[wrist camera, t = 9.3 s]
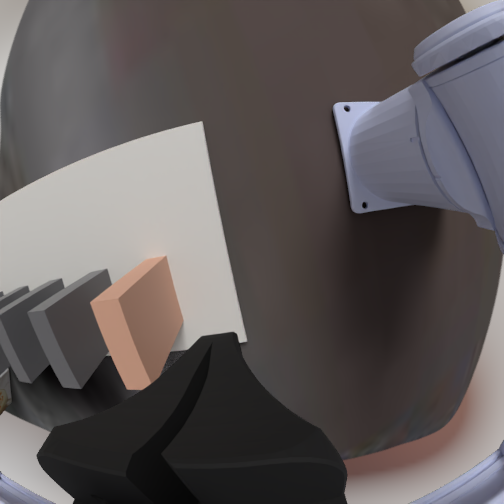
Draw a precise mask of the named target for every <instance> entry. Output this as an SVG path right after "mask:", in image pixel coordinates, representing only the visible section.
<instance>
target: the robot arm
mask: <svg viewBox="0 0 504 504" xmlns="http://www.w3.org/2000/svg"><path fill="white" fill-rule="evenodd" d="M414 60H415V61H414V62H413V63H412V67H413V69H414V70H415V71H416V73H417V74H418V75H419V76H423V75H425V74H427V73H429V72H431V71H433V70H434V69H436V68H438V69H436V70H435V71H433V72H432V73H430V74H429V75H427V76H425V77H424V78H422V79H421V80H419V81H418V82H416V83H414V84H413V85H411V86H409V87H407V88H405V89H404V90H402V91H400V92H398V93H396V94H395V95H393V96H391V97H389V98H388V99H386V100H384V101H383V102H341V103H336V104H335V105H334V106H333V114H334V118H335V122H336V127H337V131H338V136H339V141H340V146H341V151H342V156H343V161H344V167H345V172H346V178H347V184H348V191H349V198H350V205H351V209H352V211H353V212H355V213H365V212H371V211H377V210H383V209H390V208H396V207H402V206H409V205H421V206H428V207H435V208H442V209H448V210H454V211H460V212H466V213H469V214H470V215H472V217H473V218H474V219H475V221H476V223H477V225H478V227H481V228H486V229H490V230H494V231H495V233H496V237H497V241H498V245H499V247H500V249H501V251H502V253H503V254H504V0H498V1H494V2H491V3H488V4H486V5H483V6H481V7H479V8H476V9H474V10H472V11H470V12H468V13H466V14H464V15H463V16H461V17H459V18H457V19H455V20H454V21H452V22H450V23H449V24H447V25H445V26H444V27H442V28H441V29H439V30H437V31H436V32H434V33H433V34H432V35H430V36H429V37H427V38H426V39H425V40H423V41H422V42H421V43H420V44H418V45H417V46H416V47H415V49H414ZM344 107H347V108H348V109H349V112H346V111H345V110H344ZM363 202H365V203H366V207H365V208H363V207H362V203H363ZM37 459H38V461H39V464H40V465H41V467H42V468H43V470H44V471H45V472H46V473H47V474H48V475H49V476H50V477H51V478H52V479H53V480H54V481H55V482H56V483H57V484H58V485H59V486H60V487H62V488H63V489H64V490H65V491H66V492H67V493H68V494H70V495H71V496H72V497H73V498H74V499H75V500H74V502H73V504H347V501H346V498H345V494H344V492H345V487H346V481H347V470H346V467H345V464H344V462H343V460H342V459H341V457H340V455H339V453H338V452H337V450H336V449H335V447H334V446H333V445H332V443H331V442H330V440H329V439H328V438H327V437H326V435H325V434H324V433H323V432H322V430H321V429H320V428H318V427H316V426H314V425H312V424H311V423H309V422H307V421H305V420H304V419H302V418H300V417H299V416H297V415H296V414H294V413H293V412H292V411H290V410H289V409H287V408H286V407H285V406H284V405H282V404H281V403H280V402H279V401H278V400H277V399H275V398H274V397H273V396H272V395H271V394H270V393H269V392H268V391H267V390H266V389H265V388H264V387H263V386H262V385H261V383H260V382H259V381H258V380H257V379H256V377H255V376H254V375H253V373H252V372H251V370H250V369H249V367H248V366H247V364H246V362H245V360H244V358H243V356H242V352H241V348H240V344H239V340H238V335H237V333H235V332H227V333H220V334H213V335H205V336H201V337H200V338H199V339H198V340H197V341H196V342H195V343H194V344H193V345H192V346H191V347H190V348H189V349H188V350H187V351H186V352H185V353H184V354H183V355H182V356H181V357H180V358H179V359H178V360H177V361H176V362H175V363H174V364H173V365H172V366H171V367H170V368H169V369H168V370H167V371H165V372H164V373H163V374H162V375H161V376H160V377H159V378H158V379H156V380H155V381H154V382H152V383H151V384H150V385H149V386H147V387H146V388H144V389H143V390H141V391H140V392H138V393H137V394H135V395H134V396H132V397H130V398H128V399H127V400H125V401H123V402H121V403H120V404H118V405H116V406H114V407H112V408H110V409H108V410H105V411H103V412H101V413H99V414H96V415H93V416H91V417H88V418H85V419H82V420H79V421H75V422H72V423H68V424H64V425H61V426H56V427H54V428H53V430H52V431H51V433H50V434H49V436H48V437H47V439H46V441H45V442H44V444H43V446H42V447H41V449H40V450H39V452H38V454H37ZM0 504H55V503H53V502H51V501H49V500H47V499H45V498H43V497H41V496H39V495H37V494H35V493H33V492H31V491H30V490H28V489H26V488H24V487H23V486H21V485H19V484H18V483H16V482H14V481H13V480H11V479H9V478H8V477H6V476H5V475H3V474H2V473H1V471H0ZM409 504H504V440H503V442H502V444H501V445H500V448H499V449H498V450H497V451H495V452H494V453H493V454H491V455H490V456H489V457H487V458H486V459H485V460H483V461H482V462H480V463H479V464H478V465H476V466H475V467H473V468H472V469H470V470H469V471H467V472H466V473H464V474H463V475H461V476H459V477H458V478H456V479H455V480H453V481H451V482H450V483H448V484H446V485H444V486H443V487H441V488H439V489H437V490H435V491H434V492H432V493H430V494H428V495H426V496H424V497H422V498H419V499H417V500H415V501H413V502H411V503H409Z"/></svg>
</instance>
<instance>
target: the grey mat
mask: <svg viewBox="0 0 504 504" xmlns="http://www.w3.org/2000/svg"><path fill="white" fill-rule="evenodd" d="M161 256H167V260H168V264H169V268H170V272H171V276H172V280H173V284H174V288H175V291H176V295H177V299H178V302H179V306H180V309H181V313H182V316H183V320H184V321H183V323H182V325H181V328H180V330H179V332H178V335H177V337H176V339H175V341H174V344H173V346H172V348H171V351H181V350H188V349H189V348H190V347H191V346H192V345H193V344H194V343H195V342H196V341H197V340H198V339H199V338H200V337H201V336H205V335H213V334H220V333H227V332H235V333H237V335H238V340H239V343H241V342H247V337H246V332H245V328H244V323H243V319H242V315H241V310H240V306H239V301H238V297H237V292H236V288H235V283H234V278H233V274H232V269H231V264H230V260H229V255H228V250H227V245H226V241H225V236H224V231H223V226H222V221H221V216H220V211H219V206H218V201H217V196H216V191H215V186H214V181H213V175H212V170H211V165H210V159H209V154H208V149H207V143H206V138H205V132H204V127H203V122H202V121H201V122H197V123H193V124H189V125H185V126H181V127H177V128H173V129H170V130H166V131H162V132H159V133H156V134H152V135H149V136H146V137H142V138H139V139H136V140H133V141H130V142H127V143H124V144H121V145H119V146H116V147H113V148H110V149H108V150H105V151H102V152H100V153H97V154H94V155H92V156H89V157H87V158H85V159H82V160H80V161H77V162H75V163H73V164H71V165H68V166H66V167H64V168H62V169H59V170H57V171H55V172H53V173H51V174H49V175H47V176H45V177H43V178H41V179H39V180H37V181H35V182H33V183H31V184H29V185H27V186H25V187H24V188H22V189H20V190H18V191H16V192H15V193H13V194H11V195H9V196H8V197H6V198H4V199H3V200H1V201H0V292H1V291H3V294H4V295H6V294H8V293H10V292H11V291H13V290H15V289H17V288H19V287H23V286H27V285H28V287H29V290H30V291H32V290H34V289H36V288H37V287H39V286H41V285H43V284H45V283H46V282H48V281H50V280H55V279H60V278H62V280H63V284H64V287H65V288H66V287H67V286H69V285H70V284H72V283H74V282H75V281H77V280H79V279H80V278H82V277H83V276H85V275H87V274H88V273H90V272H93V271H98V270H102V269H108V273H109V276H110V279H111V283H112V285H113V284H114V283H115V282H116V281H118V280H119V279H120V278H122V277H123V276H124V275H126V274H127V273H128V272H130V271H131V270H132V269H134V268H135V267H136V266H138V265H139V264H140V263H142V262H143V261H144V260H146V259H150V258H156V257H161ZM171 351H170V352H171ZM106 356H111V355H110V352H108V354H107V355H106Z"/></svg>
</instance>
